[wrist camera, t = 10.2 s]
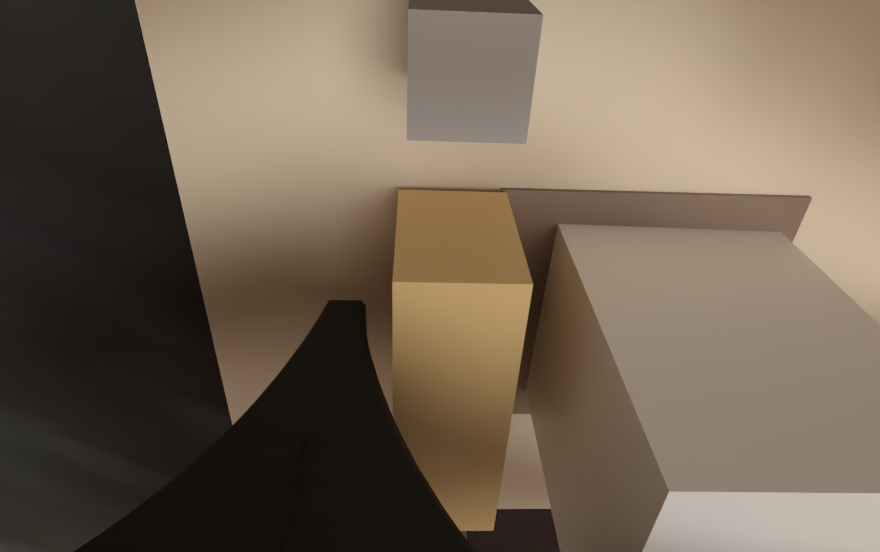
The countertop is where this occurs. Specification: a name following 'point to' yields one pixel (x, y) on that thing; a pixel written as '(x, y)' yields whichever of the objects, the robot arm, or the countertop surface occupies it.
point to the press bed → (501, 146)
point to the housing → (704, 395)
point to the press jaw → (458, 342)
